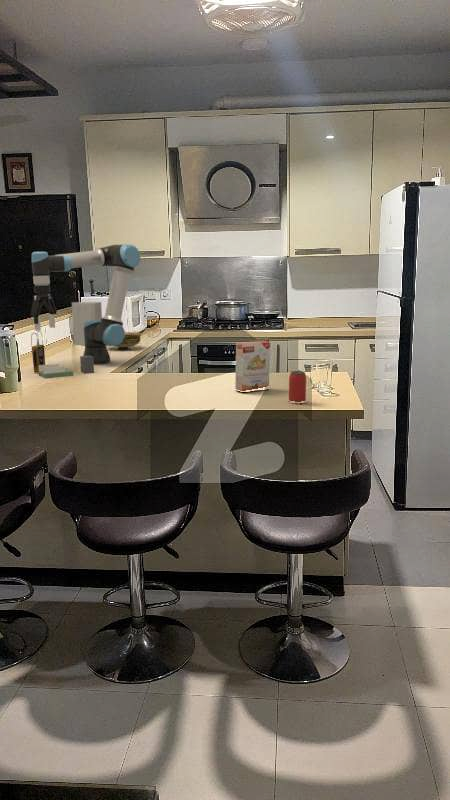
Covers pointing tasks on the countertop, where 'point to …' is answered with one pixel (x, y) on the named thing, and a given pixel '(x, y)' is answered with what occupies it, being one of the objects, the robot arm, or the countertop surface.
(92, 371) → the plug
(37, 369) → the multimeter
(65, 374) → the board
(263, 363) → the cracker box
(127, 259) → the robot arm
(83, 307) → the tall grey upright block
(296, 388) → the beer can
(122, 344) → the ceramic bowl
